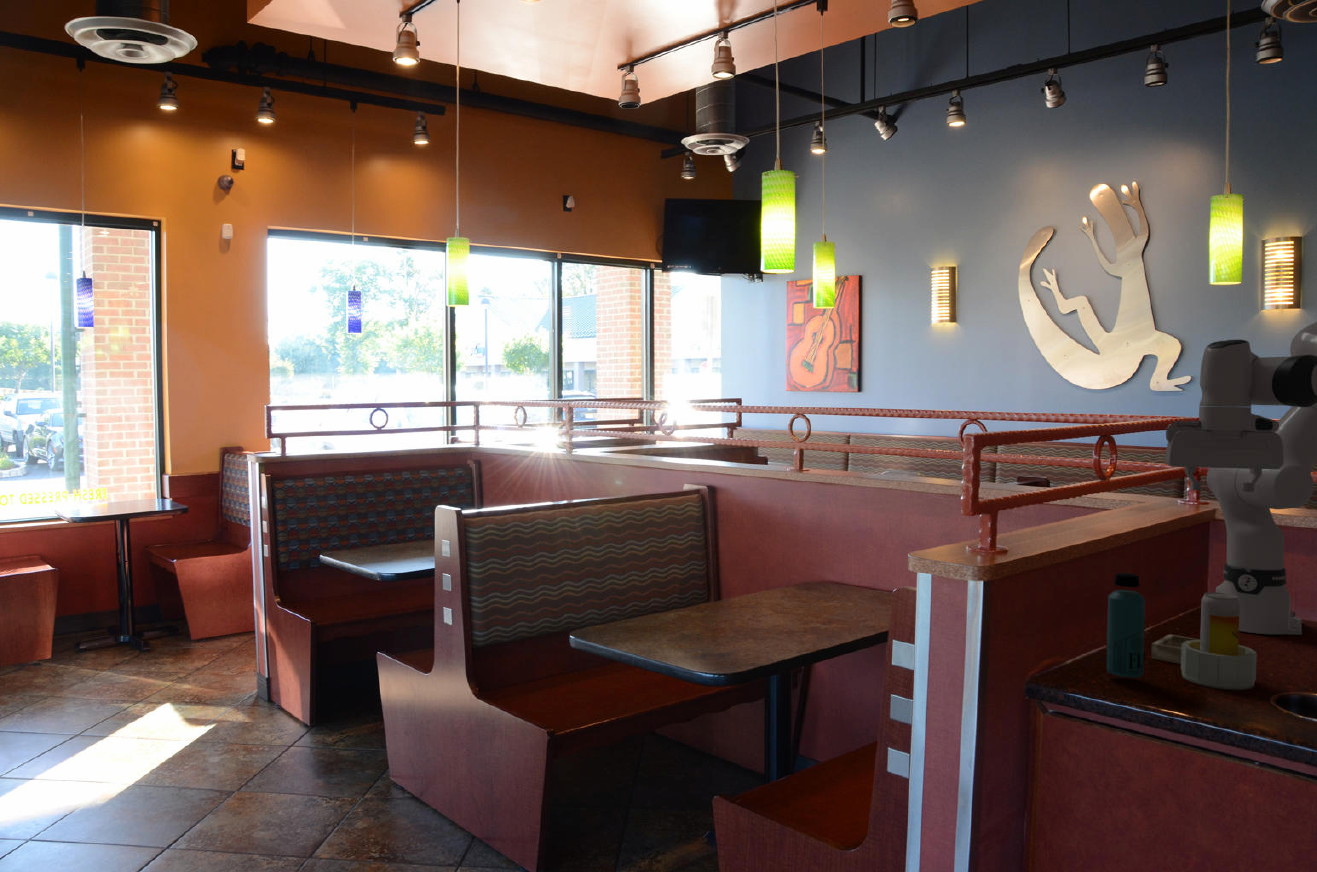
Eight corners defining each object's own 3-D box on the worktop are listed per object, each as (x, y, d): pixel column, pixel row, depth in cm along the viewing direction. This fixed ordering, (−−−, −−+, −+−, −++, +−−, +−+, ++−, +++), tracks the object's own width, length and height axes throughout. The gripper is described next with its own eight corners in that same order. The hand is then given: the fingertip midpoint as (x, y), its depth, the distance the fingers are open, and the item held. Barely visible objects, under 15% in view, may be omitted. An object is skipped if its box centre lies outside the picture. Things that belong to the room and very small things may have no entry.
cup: (1192, 667, 181) (1193, 636, 181) (1261, 680, 173) (1262, 648, 173) (1173, 679, 173) (1174, 647, 173) (1244, 694, 165) (1246, 660, 165)
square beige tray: (1169, 648, 195) (1169, 631, 195) (1228, 658, 187) (1229, 641, 187) (1151, 658, 187) (1151, 640, 187) (1212, 670, 180) (1213, 651, 179)
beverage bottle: (1129, 687, 168) (1132, 578, 167) (1096, 677, 174) (1099, 572, 173) (1152, 682, 171) (1155, 575, 170) (1119, 673, 177) (1122, 569, 176)
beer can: (1245, 679, 170) (1247, 598, 170) (1214, 680, 170) (1217, 599, 169) (1221, 669, 176) (1224, 591, 176) (1191, 670, 176) (1194, 592, 175)
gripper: (1170, 421, 184) (1168, 490, 185) (1288, 422, 179) (1285, 494, 180) (1162, 420, 190) (1160, 487, 191) (1275, 421, 185) (1273, 491, 186)
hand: (1222, 490), depth 185 cm, fingers open, 8 cm apart
